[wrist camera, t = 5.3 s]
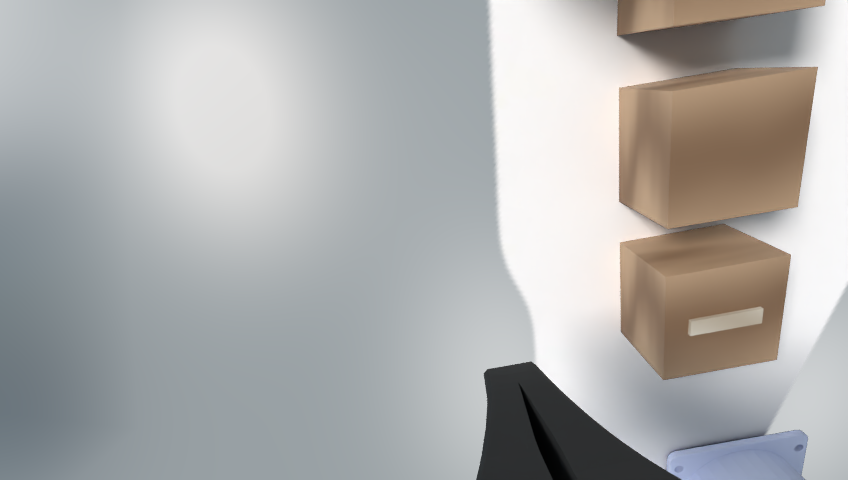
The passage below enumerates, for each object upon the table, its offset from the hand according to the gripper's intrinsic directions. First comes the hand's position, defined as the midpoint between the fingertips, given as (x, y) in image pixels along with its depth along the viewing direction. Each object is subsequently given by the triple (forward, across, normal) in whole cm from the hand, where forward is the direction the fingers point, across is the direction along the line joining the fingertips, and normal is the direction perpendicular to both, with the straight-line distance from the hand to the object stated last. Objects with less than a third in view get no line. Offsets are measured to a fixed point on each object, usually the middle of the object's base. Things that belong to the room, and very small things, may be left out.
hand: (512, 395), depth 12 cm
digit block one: (+10, -10, +3) cm, 14 cm away
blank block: (+10, -10, -4) cm, 14 cm away
